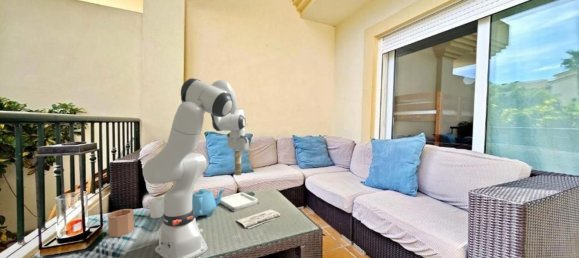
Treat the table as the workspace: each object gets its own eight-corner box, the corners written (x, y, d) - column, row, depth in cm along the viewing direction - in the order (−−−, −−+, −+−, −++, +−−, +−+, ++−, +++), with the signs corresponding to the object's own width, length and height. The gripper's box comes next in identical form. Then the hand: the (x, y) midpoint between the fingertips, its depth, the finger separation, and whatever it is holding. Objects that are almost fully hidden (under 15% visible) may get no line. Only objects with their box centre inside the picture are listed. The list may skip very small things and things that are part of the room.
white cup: (168, 214, 127) (168, 197, 127) (159, 220, 119) (158, 202, 119) (155, 213, 128) (155, 196, 127) (145, 220, 120) (145, 201, 120)
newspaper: (247, 231, 110) (246, 226, 110) (235, 224, 119) (235, 219, 119) (283, 217, 124) (283, 213, 124) (271, 212, 134) (270, 208, 134)
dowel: (242, 174, 143) (242, 151, 142) (237, 175, 140) (236, 151, 139) (239, 173, 146) (239, 150, 145) (233, 174, 143) (233, 151, 142)
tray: (259, 203, 143) (259, 199, 143) (234, 211, 131) (234, 207, 131) (242, 195, 158) (242, 192, 158) (218, 202, 145) (218, 198, 145)
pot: (135, 233, 106) (134, 213, 106) (110, 241, 100) (109, 219, 99) (131, 226, 113) (130, 207, 112) (108, 233, 106) (107, 212, 106)
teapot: (179, 215, 126) (178, 191, 125) (209, 204, 141) (209, 182, 140) (195, 224, 116) (194, 197, 115) (226, 211, 132) (226, 187, 131)
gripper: (251, 135, 137) (251, 158, 137) (234, 133, 151) (234, 154, 152) (242, 136, 132) (242, 159, 133) (225, 134, 147) (225, 155, 148)
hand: (238, 156), depth 143 cm, fingers closed on dowel, 4 cm apart
